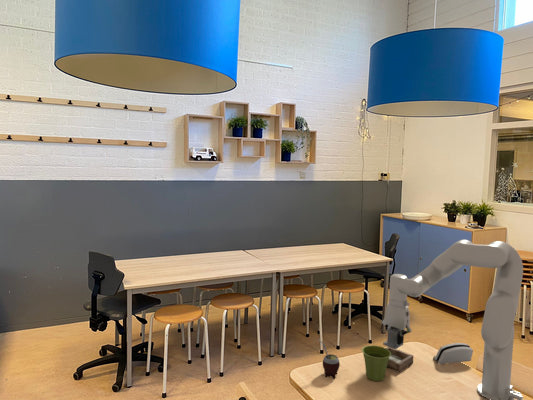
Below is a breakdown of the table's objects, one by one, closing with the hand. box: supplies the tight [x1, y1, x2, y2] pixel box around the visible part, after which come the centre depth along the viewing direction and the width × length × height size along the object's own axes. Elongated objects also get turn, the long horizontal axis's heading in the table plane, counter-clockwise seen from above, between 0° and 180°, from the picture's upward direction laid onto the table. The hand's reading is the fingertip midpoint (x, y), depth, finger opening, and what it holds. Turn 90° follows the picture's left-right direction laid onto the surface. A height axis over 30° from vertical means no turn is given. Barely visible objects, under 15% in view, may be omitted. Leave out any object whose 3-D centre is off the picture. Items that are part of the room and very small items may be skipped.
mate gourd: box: [317, 339, 341, 380], centre depth 169 cm, size 8×8×15 cm
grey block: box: [382, 327, 404, 350], centre depth 180 cm, size 6×7×8 cm
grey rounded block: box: [432, 342, 474, 365], centre depth 183 cm, size 17×5×10 cm, turn 102°
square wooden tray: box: [385, 346, 414, 373], centre depth 181 cm, size 12×12×4 cm
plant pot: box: [361, 345, 391, 382], centre depth 168 cm, size 12×12×11 cm
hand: (395, 341), depth 180 cm, fingers closed on grey block, 4 cm apart
